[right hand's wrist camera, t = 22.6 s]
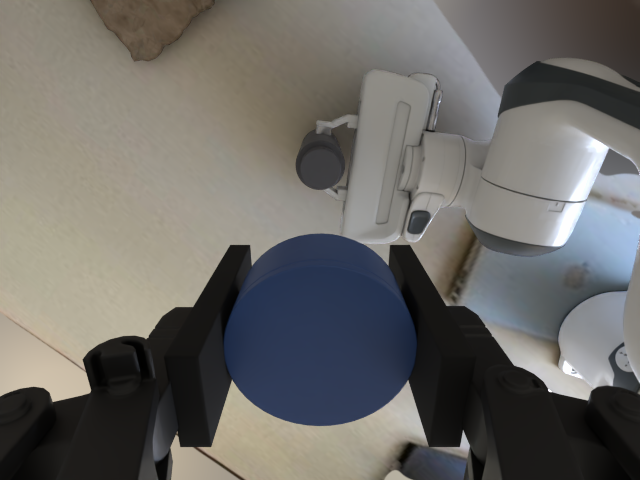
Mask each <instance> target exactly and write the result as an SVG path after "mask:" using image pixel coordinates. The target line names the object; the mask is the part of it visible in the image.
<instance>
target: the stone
mask: <svg viewBox="0 0 640 480" xmlns="http://www.w3.org/2000/svg"><path fill="white" fill-rule="evenodd" d="M90 1H91V2H92V4H93V6H94V7H95V9H96V11H97V13H98V14H99V16H100V17H101V19H102V20H103V22H104V24H105V25H106V27H107V29H109V30H111V31H113V32H114V33H115V34H116V35H117V37H118V38H119V39H120V40H121V41H122V43H123V44H124V45H125V46H126V47H127V48H128V50H129V51H130V52H131V57H132V58H133V60H134V61H140V60H145V61H150V60H152V59H155V58H156V57H157V56H158V55H159V54H160V53H161V52H162V50H163V48H164V46H165V45H169V44H171V43H172V42H174V41H176V40H178V38H179V37H180V36H181V35H182V33H183V30H184V29H185V28H187V26H188V25H189V24H190V22H191V20H192V18H194V17H196V16H197V15H198V14H199V13H200V12H203V11H205V10H207V9H210V8H211V7H212V6H213V5H214V3H215V1H214V0H90Z"/></svg>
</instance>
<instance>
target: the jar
mask: <svg viewBox="0 0 640 480" xmlns="http://www.w3.org/2000/svg"><path fill="white" fill-rule="evenodd" d="M344 170H345V160H344V157H343V154H342V151H341V149H340V146H339V144H338V141H337V139H336V137H335V136H334V135H333V134H332V133H331V136H329V135H324V134H316V130H313V131H311V132H310V133H308V134H307V135H306V137H305V138H304V140H303V143H302V145H301V148H300V151H299V153H298V156H297V159H296V171H297V174H298V176H299V178H300V180H301V181H302V182H303V183H304V184H305V185H307V186H308V187H310V188H312V189H316V190H324V189H328V188H331V187H333V186H334V185H336V184H337V183H338V182H339V181H340V179H341V178H342V176H343V173H344Z"/></svg>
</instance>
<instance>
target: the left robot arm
mask: <svg viewBox="0 0 640 480" xmlns="http://www.w3.org/2000/svg"><path fill="white" fill-rule="evenodd" d="M435 85H436V87H437V90H434V89H435ZM442 95H443V91H442V90H440V83H439V81H438V79H437V78H436V77H435V76H434V75H431V74H426V73H419V72H417V73H413V74H410V75H409V76H408V77H407V76H403V75H400V74H397V73H393V72H389V71H384V70H378V69H372V70H370V71H369V72H367V73H366V74H365V75H364V76H363V79H362V85H361V91H360V98H359V105H358V111H357V115H351V114H346V115H344V116H342V117H339V118H337V119H335V120H333V121H332V122H330V121H322V120H317V124H316V134H324V135H329V136H331V129H332V128H335V127H337V126H339V125H342V124H344V123H346V126H347V127H348V128H355V131H354V137H353V144H352V150H351V157H350V164H349V170H348V177H347V183H346V186H337V190H336V189H334V188H333V187H331V188H328V189H324V191H325V192H326V193H327V194H329V195H330V196H331V197H333V198H334V199H335V200H339V201H344V203H343V210H342V216H341V223H340V233H341V236H343V237H347V238H349V239H352V240H355V241H357V242H359V243H363V244H385V243H390V242H393V241H395V240H397V239H398V238H399V237H400V235H401V236H402V238H403V239H404V240H406V241H409V242H417V241H419V240H420V238H421V237H422V235H423V234H424V232H425V230H426V229H427V227H428V225H429V224H430V222H431V220H432V219H433V217H434V216H435V214H436V213H437V211H438V210H439V208H440V207H442V208H448V207H461V208H464V209H465V210H466V215H465V217H466V219H467V221H468V223H469V225H470V226H471V228H472V230H473V232H474V233H475V235H476V237H477V238H478V240H479V241H480V243H482V244H483V245H484V246H485V247H486V248H488V249H491V250H493V251H496V252H500V253H505V254H510V255H516V256H524V257H533V256H538V255H543V254H547V253H550V252H553V251H555V250H557V249H559V248H561V247H563V246H564V245H565V243H566V241H567V240H568V238H569V237H570V235H571V233H572V231H573V229H574V227H575V225H576V223H577V221H578V218H579V216H580V214H581V212H582V209H583V207H584V205H585V203H586V200H587V197H588V194H589V192H590V190H591V188H592V185H593V183H594V181H595V179H596V176H597V174H598V172H599V170H600V167H601V165H602V163H603V161H604V158H605V156H606V154H607V152H608V149H609V148H610V149H612V150H614V151H616V152H617V153H619V154H621V155H622V156H624V157H626V158H628V159H629V160H631V161H632V162H633V163H634V164H635V165H636V167H637V169H638V171H639V174H640V82H637V81H635V80H633V79H631V78H629V77H626V76H623V75H620V74H618V73H617V72H615V71H614V70H612V69H610V68H608V67H606V66H604V65H602V64H599V63H596V62H593V61H589V60H584V59H577V58H553V59H548V60H544V61H537V62H535V63H533V64H532V65H530V66H529V67H527V68H526V69H524V70H523V71H522V72H520V73H519V74H518V75H517V76H515V77H514V78H513V79H512V80H511V81H509V82H508V83H507V84H506V85H505V87H504V91H503V96H502V100H501V104H500V109H499V113H498V121H497V124H496V128H495V131H494V134H493V137H492V139H491V140H484V141H475V140H471V139H469V138H467V137H465V136H462V135H456V134H448V133H441V132H435V128H436V123H437V118H438V109H439V105H440V103H441V100H442ZM423 129H424V130H423ZM558 342H559V347H560V351H561V356H560V359H559V364H558V366H559V368H560V369H561V370H562V371H563V372H564V373H567V374H570V375H573V376H576V377H579V378H582V379H584V380H585V381H586V382H587V383H588V384H589V385H590V386H591V387H592V388H593V389H595V388H596V387H599V386H606V385H608V386H615V387H621V388H624V389H627V390H631V391H633V392H636V393H638V394H640V236H639V242H638V247H637V252H636V257H635V262H634V266H633V270H632V274H631V278H630V282H629V286H628V290H627V291H622V292H607V293H602V294H599V295H596V296H593V297H591V298H589V299H587V300H585V301H583V302H582V303H580V304H579V305H578V306H576V307H575V308H574V309H573V310H572V311H571V312H570V313H569V314H568V316H567V317H566V318H565V320H564V321H563V323H562V325H561V328H560V331H559V336H558ZM548 390H549V389H548ZM549 391H550V390H549ZM550 392H551V391H550Z"/></svg>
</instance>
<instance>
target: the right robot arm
mask: <svg viewBox="0 0 640 480" xmlns="http://www.w3.org/2000/svg"><path fill="white" fill-rule="evenodd" d="M251 267H252V265H251V251H250V245H230V247H229V248H228V250H227V252H226V253H225V255H224V257H223V258H222V260H221V262H220V263H219V265H218V267H217V268H216V270H215V272H214V273H213V275H212V277H211V278H210V280H209V282H208V283H207V285H206V287H205V288H204V290H203V292H202V293H201V295H200V297H199V298H198V300H197V302H196V303H195V305H194V307H175V308H174V309H172V310H171V311H170V312H168V313H167V314H165V315H164V316H163V317H162V318H161V319H160V321H159V322H158V324H157V325H156V326H155V329H153V331H152V332H151V333H150V335H149V338H147V339H145V338H143V337H138V336H122V337H118V338H114V339H110V340H108V341H106V342H104V343H101V344H99V345H98V346H96V347H95V348H93V349H92V350H90V351H89V352H88V353H87V355H86V356H85V357H84V358H83V362H84V366H85V370H86V373H87V377H88V380H89V384H90V387H91V392H90V393H89V394H86V395H82V396H78V397H74V398H69V399H65V400H60V401H56V402H52V399H51V396H50V393H49V392H48V391H47V390H45V389H44V388H38V387H29V388H22V389H18V390H15V391H12V392H9V393H7V394H4V395H2V396H0V480H171V474H172V464H173V461H172V454H171V449H170V447H171V444H172V442H173V440H174V437H175V435H176V433H177V431H178V437H179V442H180V447H211V446H212V442H213V439H214V436H215V433H216V429H217V426H218V423H219V420H220V417H221V413H222V410H223V407H224V404H225V400H226V397H227V394H228V391H229V388H230V384H231V381H232V378H231V376H230V374H229V372H228V369H227V366H226V363H225V356H224V347H223V339H224V332H225V328H226V325H227V322H228V319H229V316H230V314H231V311H232V309H233V306H234V304H235V302H236V299H237V297H238V294H239V292H240V289H241V287H242V285H243V282H244V280H245V278H246V276H247V274H248V272H249V270H250V269H251ZM389 268H390V270H391V271H392V273H393V274H394V277H395V279H396V281H397V283H398V286H399V288H400V291H401V293H402V296H403V298H404V300H405V303H406V305H407V308H408V310H409V313H410V315H411V317H412V320H413V322H414V326H415V330H416V334H417V349H416V358H415V365H414V368H413V370H412V373H411V375H410V377H409V379H408V380H409V384H410V387H411V390H412V393H413V397H414V400H415V403H416V406H417V409H418V413H419V416H420V419H421V422H422V426H423V429H424V432H425V435H426V438H427V442H428V445H429V447H460V443H461V438H462V432H463V430H464V433H465V435H466V437H467V440H468V442H469V444H470V449H469V454H468V459H467V464H466V469H465V474H464V480H640V394H638V393H636V392H633V391H631V390H627V389H624V388H621V387H615V386H608V385H606V386H599V387H596V388H595V389H594V390H592V391H591V394H590V397H589V400H588V401H587V400H582V399H578V398H573V397H569V396H564V395H560V394H556V393H553V392H550V391H549V390H548V388H547V387H546V385H545V384H544V382H543V381H542V380H541V379H539V378H538V377H537V376H536V375H534V374H533V373H531V372H529V371H527V370H525V369H523V368H520V367H516V366H514V365H513V364H512V362H511V361H510V359H509V358H508V357H507V355H506V354H505V352H504V351H503V350H502V348H501V347H500V345H499V344H498V343H497V341H496V340H495V338H494V337H492V334H491V333H490V332H489V330H488V329H487V328H485V325H484V323H483V322H482V320H481V319H480V318H479V316H478V315H477V314H475V313H474V312H472V311H471V310H470V309H468V308H467V307H465V306H446V305H445V303H444V301H443V300H442V298H441V296H440V295H439V293H438V291H437V290H436V288H435V286H434V285H433V283H432V281H431V280H430V278H429V276H428V275H427V273H426V271H425V270H424V268H423V266H422V265H421V263H420V261H419V260H418V258H417V256H416V255H415V253H414V251H413V249H412V248H411V246H410V245H390V254H389Z"/></svg>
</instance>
